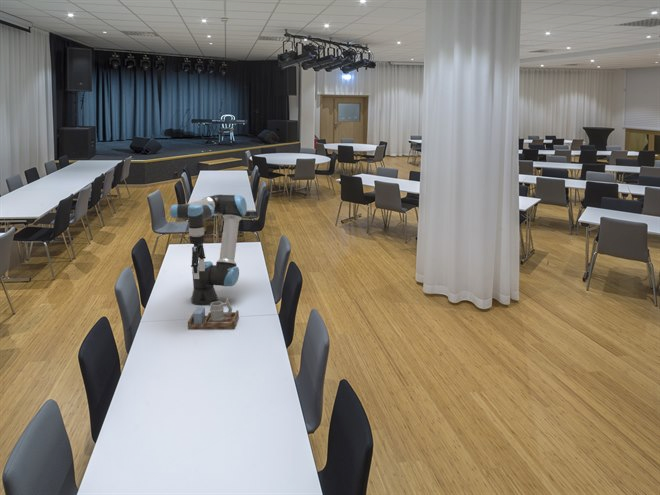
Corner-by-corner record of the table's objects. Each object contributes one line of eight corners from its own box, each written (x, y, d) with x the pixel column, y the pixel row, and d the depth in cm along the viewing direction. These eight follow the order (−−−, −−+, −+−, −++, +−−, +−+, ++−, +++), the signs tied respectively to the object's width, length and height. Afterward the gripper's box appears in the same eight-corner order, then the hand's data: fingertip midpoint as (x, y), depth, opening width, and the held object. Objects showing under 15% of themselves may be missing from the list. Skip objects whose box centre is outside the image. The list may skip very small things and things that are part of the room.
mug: (209, 319, 293) (207, 298, 290) (231, 316, 297) (230, 295, 294) (211, 324, 286) (209, 302, 283) (233, 321, 290) (232, 300, 287)
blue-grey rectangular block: (201, 324, 286) (201, 313, 285) (194, 324, 286) (193, 313, 285) (205, 317, 295) (204, 307, 293) (197, 317, 295) (197, 307, 293)
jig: (188, 329, 284) (187, 321, 282) (194, 318, 298) (194, 310, 297) (234, 329, 284) (234, 321, 283) (238, 318, 298) (238, 310, 297)
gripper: (198, 241, 268) (201, 282, 274) (209, 229, 292) (211, 267, 298) (183, 241, 268) (186, 282, 274) (194, 229, 292) (197, 267, 298)
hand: (199, 274), depth 286 cm, fingers open, 13 cm apart
